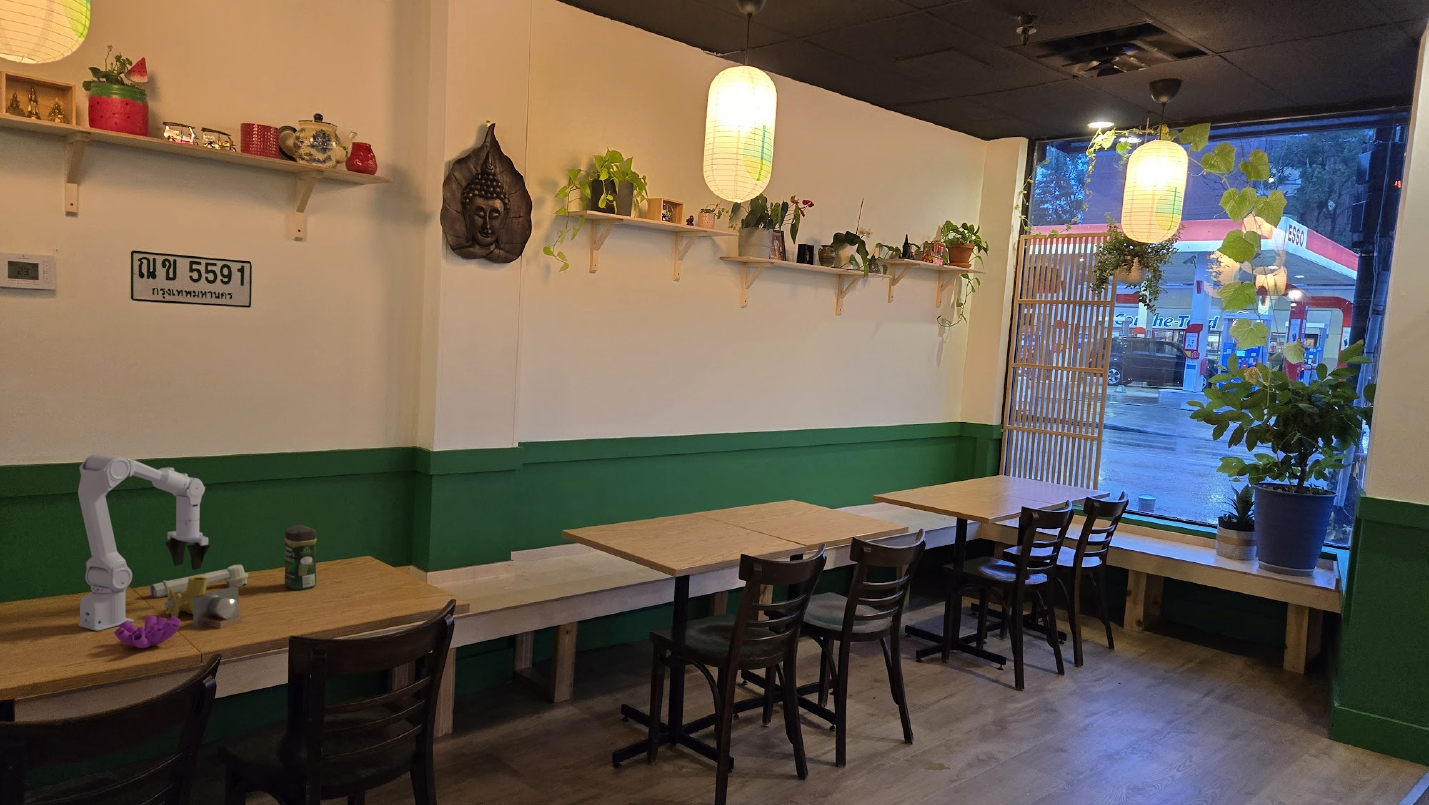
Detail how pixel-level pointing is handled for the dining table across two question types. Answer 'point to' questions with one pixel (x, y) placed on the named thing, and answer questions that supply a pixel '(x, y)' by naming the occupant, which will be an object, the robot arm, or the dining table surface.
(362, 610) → the dining table surface
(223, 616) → the fitting
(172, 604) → the ball valve
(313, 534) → the coffee jar
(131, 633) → the purple tube coral
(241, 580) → the grey piece
